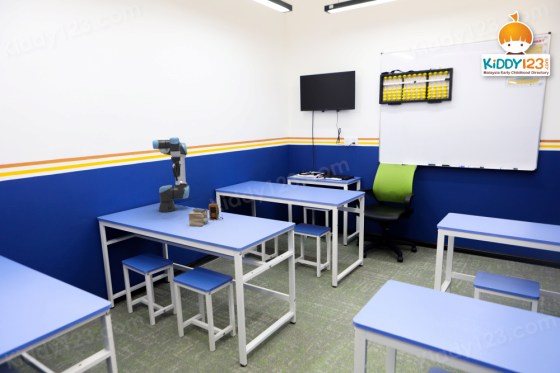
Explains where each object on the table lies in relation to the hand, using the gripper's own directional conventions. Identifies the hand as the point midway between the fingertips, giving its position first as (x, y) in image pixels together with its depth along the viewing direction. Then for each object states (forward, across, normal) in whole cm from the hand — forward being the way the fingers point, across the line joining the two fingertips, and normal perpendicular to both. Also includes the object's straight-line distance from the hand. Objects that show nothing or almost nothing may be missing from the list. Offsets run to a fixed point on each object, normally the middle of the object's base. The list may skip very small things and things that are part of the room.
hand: (177, 184), depth 295 cm
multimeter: (+30, -3, +30) cm, 42 cm away
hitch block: (+29, +14, +22) cm, 39 cm away
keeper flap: (+19, +14, +23) cm, 33 cm away
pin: (+29, +14, +22) cm, 39 cm away
